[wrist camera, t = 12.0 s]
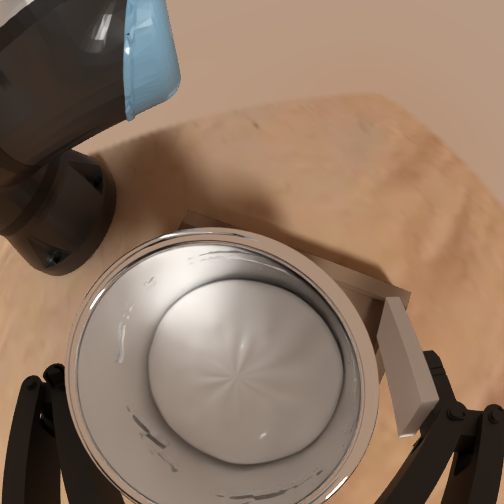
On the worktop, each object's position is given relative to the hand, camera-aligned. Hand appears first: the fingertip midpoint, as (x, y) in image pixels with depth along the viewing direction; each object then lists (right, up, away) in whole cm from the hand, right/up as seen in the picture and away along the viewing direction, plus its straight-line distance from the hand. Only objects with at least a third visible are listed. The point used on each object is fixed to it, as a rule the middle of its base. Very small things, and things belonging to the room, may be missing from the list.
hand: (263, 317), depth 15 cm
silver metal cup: (+1, -4, +4) cm, 6 cm away
